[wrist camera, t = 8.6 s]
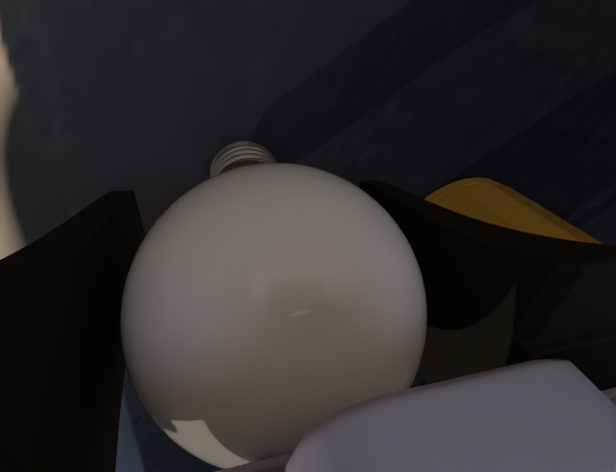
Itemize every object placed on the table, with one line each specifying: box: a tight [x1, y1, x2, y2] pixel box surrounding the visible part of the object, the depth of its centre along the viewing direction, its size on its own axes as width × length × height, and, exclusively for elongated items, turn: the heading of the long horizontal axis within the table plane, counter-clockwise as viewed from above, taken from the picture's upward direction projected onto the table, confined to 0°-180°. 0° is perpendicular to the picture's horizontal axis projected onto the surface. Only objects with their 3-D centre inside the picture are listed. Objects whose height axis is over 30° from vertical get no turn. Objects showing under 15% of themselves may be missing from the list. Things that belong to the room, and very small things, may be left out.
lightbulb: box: [120, 141, 427, 469], centre depth 9 cm, size 6×6×11 cm
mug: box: [424, 178, 602, 244], centre depth 17 cm, size 11×8×9 cm
